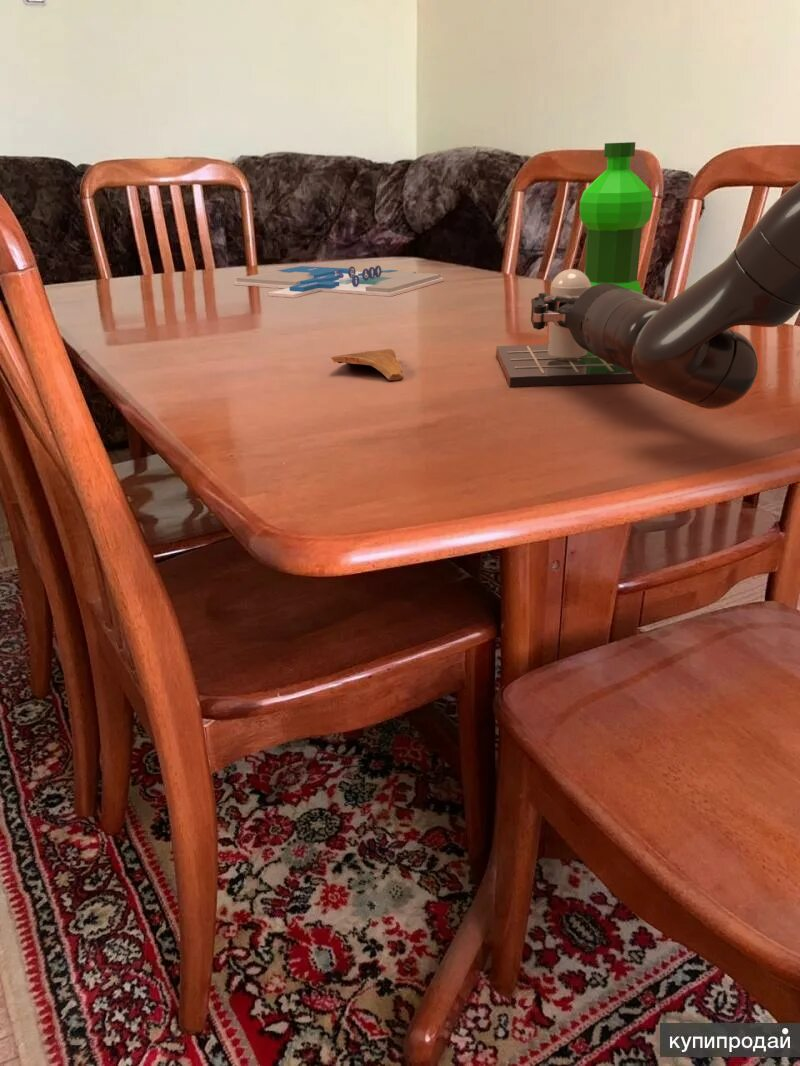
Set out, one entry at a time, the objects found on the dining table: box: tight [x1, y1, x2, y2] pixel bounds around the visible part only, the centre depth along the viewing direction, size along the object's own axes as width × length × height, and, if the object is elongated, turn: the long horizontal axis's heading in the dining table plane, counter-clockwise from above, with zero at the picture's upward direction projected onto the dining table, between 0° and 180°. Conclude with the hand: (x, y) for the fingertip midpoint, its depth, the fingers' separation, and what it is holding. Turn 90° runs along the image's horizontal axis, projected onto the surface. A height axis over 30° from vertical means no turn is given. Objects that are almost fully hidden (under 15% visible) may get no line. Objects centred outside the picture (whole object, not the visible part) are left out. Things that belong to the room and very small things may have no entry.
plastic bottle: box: [578, 141, 654, 294], centre depth 122 cm, size 10×10×25 cm
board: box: [495, 343, 643, 388], centre depth 103 cm, size 16×16×1 cm
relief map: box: [233, 265, 445, 299], centre depth 170 cm, size 30×40×4 cm
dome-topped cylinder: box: [547, 268, 592, 358], centre depth 100 cm, size 5×5×10 cm
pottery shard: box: [330, 348, 404, 381], centre depth 104 cm, size 10×9×2 cm
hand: (562, 300), depth 102 cm, fingers closed on dome-topped cylinder, 5 cm apart
